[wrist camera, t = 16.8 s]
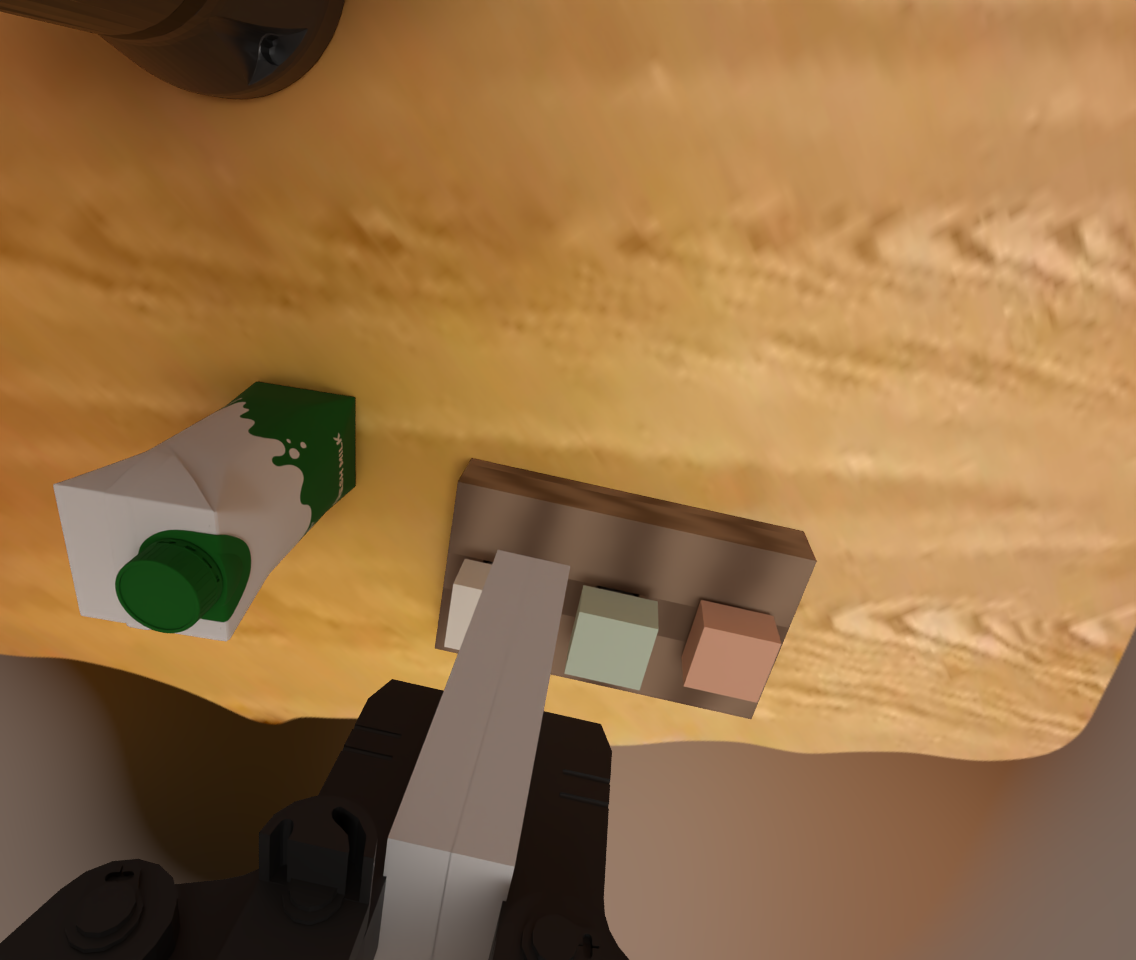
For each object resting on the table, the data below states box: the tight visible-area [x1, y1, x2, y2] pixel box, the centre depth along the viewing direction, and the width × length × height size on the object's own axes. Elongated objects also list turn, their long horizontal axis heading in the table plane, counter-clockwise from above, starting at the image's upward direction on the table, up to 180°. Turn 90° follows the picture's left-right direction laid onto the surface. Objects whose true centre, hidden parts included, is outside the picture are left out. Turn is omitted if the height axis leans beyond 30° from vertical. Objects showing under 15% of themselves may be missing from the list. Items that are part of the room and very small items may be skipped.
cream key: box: [444, 559, 493, 650], centre depth 46 cm, size 5×5×6 cm
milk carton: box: [53, 382, 356, 641], centre depth 40 cm, size 9×9×20 cm
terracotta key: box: [682, 600, 781, 703], centre depth 47 cm, size 5×5×6 cm
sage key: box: [564, 585, 659, 691], centre depth 46 cm, size 5×5×6 cm
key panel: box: [435, 458, 816, 719], centre depth 50 cm, size 24×14×4 cm, turn 79°
